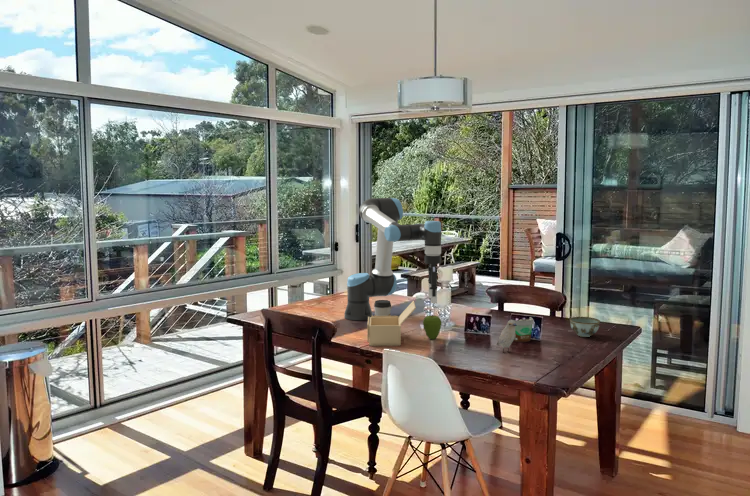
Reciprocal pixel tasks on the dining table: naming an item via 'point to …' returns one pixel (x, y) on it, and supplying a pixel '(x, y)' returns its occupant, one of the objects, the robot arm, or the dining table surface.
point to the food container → (523, 330)
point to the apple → (432, 326)
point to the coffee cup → (382, 308)
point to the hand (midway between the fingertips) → (432, 300)
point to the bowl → (584, 326)
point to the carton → (384, 331)
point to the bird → (507, 335)
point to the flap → (407, 312)
